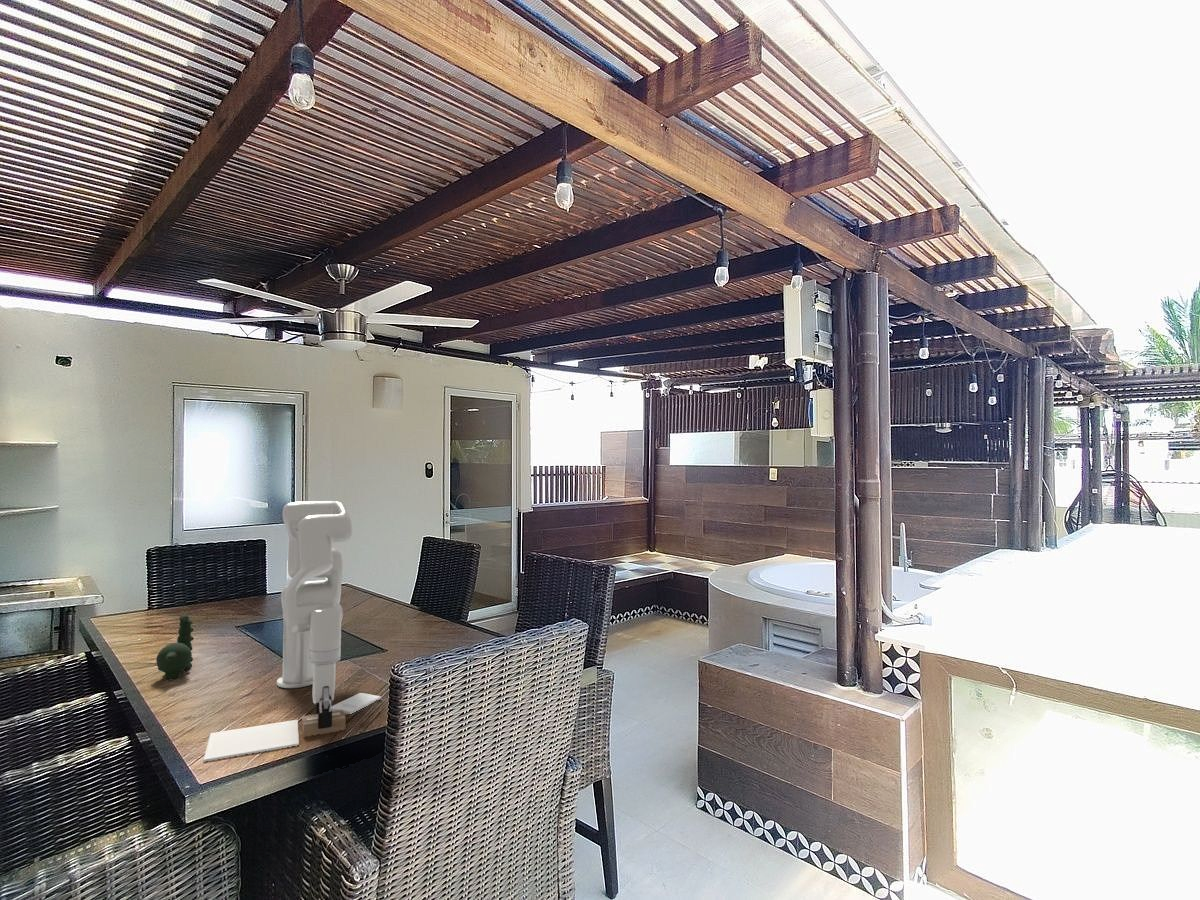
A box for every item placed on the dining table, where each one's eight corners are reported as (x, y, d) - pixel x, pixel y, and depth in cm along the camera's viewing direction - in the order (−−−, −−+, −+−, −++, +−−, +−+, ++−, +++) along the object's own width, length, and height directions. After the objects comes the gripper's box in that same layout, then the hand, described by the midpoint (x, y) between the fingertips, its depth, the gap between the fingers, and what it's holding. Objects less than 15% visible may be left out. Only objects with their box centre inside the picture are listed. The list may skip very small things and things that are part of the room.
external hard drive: (381, 701, 185) (350, 717, 174) (359, 697, 188) (327, 712, 177) (381, 696, 185) (350, 711, 174) (359, 692, 188) (327, 706, 177)
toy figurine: (168, 669, 215) (149, 686, 192) (171, 613, 217) (152, 623, 194) (200, 666, 219) (185, 682, 196) (202, 610, 221) (188, 620, 198)
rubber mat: (210, 735, 160) (210, 733, 160) (297, 721, 169) (297, 719, 169) (203, 762, 145) (203, 759, 145) (298, 745, 154) (298, 743, 154)
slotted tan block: (301, 729, 164) (301, 715, 165) (342, 722, 169) (342, 708, 169) (303, 738, 159) (303, 724, 159) (345, 731, 164) (345, 716, 164)
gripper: (308, 648, 171) (306, 712, 170) (310, 666, 155) (309, 736, 155) (338, 645, 174) (336, 707, 173) (343, 662, 159) (342, 730, 158)
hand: (323, 720), depth 164 cm, fingers open, 9 cm apart
